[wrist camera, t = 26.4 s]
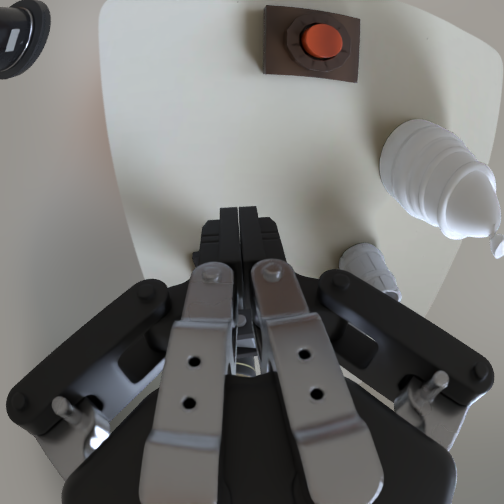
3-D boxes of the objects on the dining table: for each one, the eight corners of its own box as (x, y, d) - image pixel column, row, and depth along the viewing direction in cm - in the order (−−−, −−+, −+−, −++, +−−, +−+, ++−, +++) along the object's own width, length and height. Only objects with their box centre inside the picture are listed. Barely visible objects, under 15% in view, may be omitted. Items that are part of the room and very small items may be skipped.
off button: (300, 55, 21) (305, 55, 20) (301, 23, 19) (306, 21, 18) (335, 60, 22) (342, 60, 20) (336, 29, 19) (343, 27, 18)
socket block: (263, 73, 25) (267, 74, 22) (263, 9, 21) (268, 1, 17) (349, 81, 26) (364, 84, 23) (352, 21, 21) (367, 17, 18)
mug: (387, 246, 41) (422, 300, 32) (353, 297, 48) (374, 351, 39) (351, 235, 40) (383, 294, 30) (317, 291, 46) (335, 350, 37)
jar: (255, 361, 59) (258, 391, 53) (211, 365, 59) (211, 395, 53) (251, 336, 53) (254, 370, 47) (200, 341, 53) (199, 374, 47)
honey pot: (454, 179, 34) (530, 247, 20) (394, 216, 38) (459, 303, 24) (436, 105, 27) (538, 156, 13) (365, 143, 31) (457, 217, 17)
